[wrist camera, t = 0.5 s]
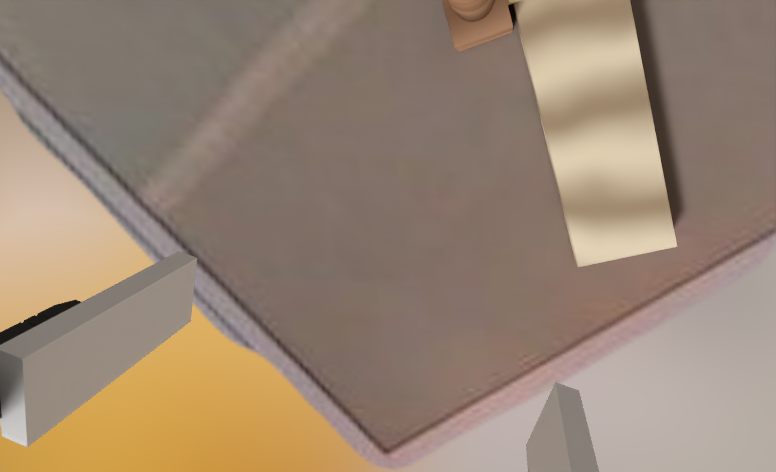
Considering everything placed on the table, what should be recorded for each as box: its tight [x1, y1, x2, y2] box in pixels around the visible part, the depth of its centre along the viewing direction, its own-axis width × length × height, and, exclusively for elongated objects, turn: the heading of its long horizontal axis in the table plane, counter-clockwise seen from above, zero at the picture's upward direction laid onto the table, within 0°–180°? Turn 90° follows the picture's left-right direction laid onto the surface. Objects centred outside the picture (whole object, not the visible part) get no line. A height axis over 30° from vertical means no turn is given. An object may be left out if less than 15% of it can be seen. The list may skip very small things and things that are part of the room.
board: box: [513, 0, 677, 267], centre depth 34 cm, size 24×7×2 cm, turn 19°
